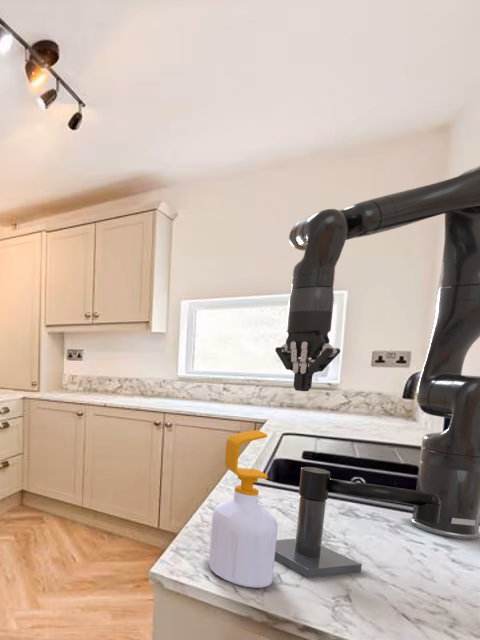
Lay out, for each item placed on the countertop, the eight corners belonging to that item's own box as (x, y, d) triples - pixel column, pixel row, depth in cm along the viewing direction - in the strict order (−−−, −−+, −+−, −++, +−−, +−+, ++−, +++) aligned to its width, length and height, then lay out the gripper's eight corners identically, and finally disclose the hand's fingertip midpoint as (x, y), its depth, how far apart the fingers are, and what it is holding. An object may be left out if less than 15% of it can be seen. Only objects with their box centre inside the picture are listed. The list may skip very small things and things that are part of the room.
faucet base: (304, 544, 82) (310, 486, 81) (361, 572, 73) (368, 507, 71) (256, 549, 80) (262, 489, 79) (307, 578, 71) (315, 510, 69)
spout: (432, 517, 69) (436, 483, 69) (443, 525, 66) (448, 490, 65) (296, 495, 78) (299, 465, 77) (300, 502, 75) (303, 471, 74)
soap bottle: (283, 592, 66) (298, 439, 64) (220, 585, 68) (232, 435, 66) (256, 563, 75) (269, 427, 73) (201, 557, 77) (211, 424, 74)
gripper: (357, 308, 84) (348, 394, 86) (295, 312, 97) (288, 387, 99) (326, 307, 83) (317, 394, 85) (267, 311, 96) (260, 387, 98)
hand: (301, 390), depth 92 cm, fingers closed
